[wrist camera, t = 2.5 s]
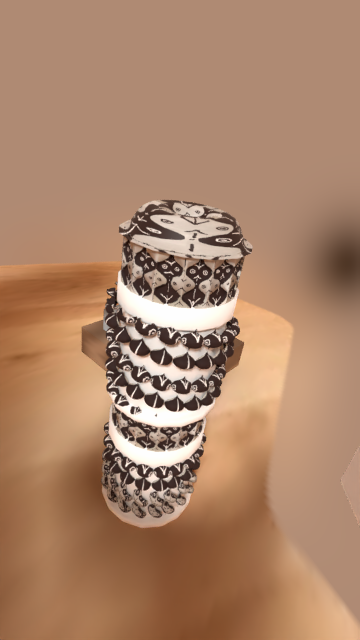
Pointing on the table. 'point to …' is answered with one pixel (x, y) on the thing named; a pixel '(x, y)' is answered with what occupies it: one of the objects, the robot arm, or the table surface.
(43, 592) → the table surface
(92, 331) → the tower base
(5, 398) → the table surface
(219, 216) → the patterned studded column
